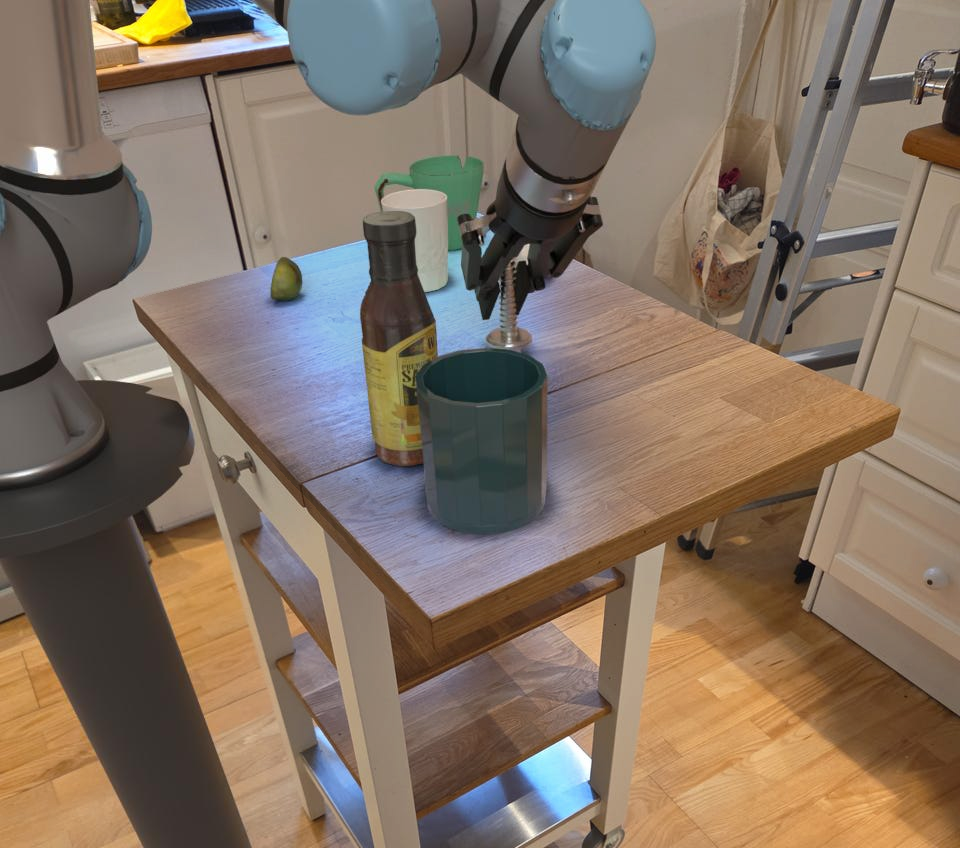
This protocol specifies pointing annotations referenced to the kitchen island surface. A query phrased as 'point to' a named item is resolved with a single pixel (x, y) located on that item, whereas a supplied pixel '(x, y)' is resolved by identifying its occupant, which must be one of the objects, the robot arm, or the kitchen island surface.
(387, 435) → the sauce bottle
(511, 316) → the screw
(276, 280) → the lime
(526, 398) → the crock
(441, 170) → the mug
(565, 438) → the kitchen island surface
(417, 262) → the white cup
